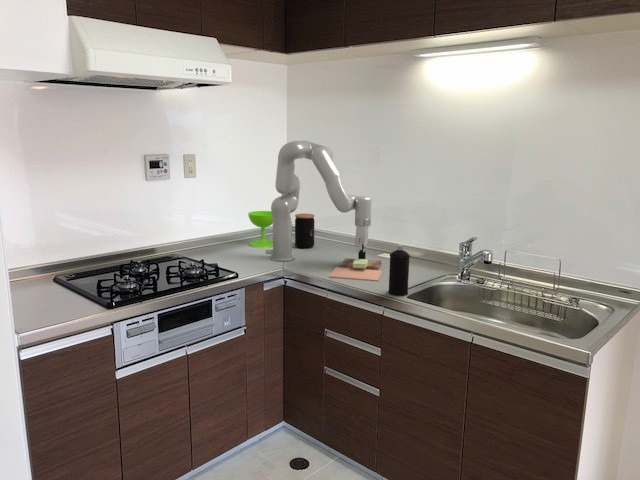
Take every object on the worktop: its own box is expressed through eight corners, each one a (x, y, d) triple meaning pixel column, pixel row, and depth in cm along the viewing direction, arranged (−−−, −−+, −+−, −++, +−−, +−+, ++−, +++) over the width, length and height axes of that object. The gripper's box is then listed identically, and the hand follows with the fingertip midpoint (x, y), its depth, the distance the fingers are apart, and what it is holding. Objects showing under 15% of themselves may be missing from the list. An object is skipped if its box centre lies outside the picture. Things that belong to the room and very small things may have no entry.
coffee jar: (313, 249, 284) (314, 216, 281) (294, 249, 285) (294, 216, 281) (314, 244, 295) (314, 213, 291) (295, 244, 295) (295, 213, 291)
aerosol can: (403, 297, 206) (405, 248, 202) (384, 293, 211) (386, 245, 206) (411, 292, 213) (413, 244, 209) (393, 288, 218) (395, 241, 213)
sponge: (352, 267, 242) (352, 263, 241) (355, 262, 250) (355, 258, 250) (365, 268, 240) (365, 264, 240) (368, 263, 249) (368, 259, 248)
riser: (340, 268, 247) (340, 264, 247) (345, 262, 259) (345, 258, 258) (378, 271, 243) (378, 267, 243) (381, 264, 255) (381, 260, 254)
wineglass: (282, 243, 299) (281, 212, 295) (269, 249, 284) (269, 216, 280) (257, 240, 304) (256, 210, 300) (243, 246, 290) (243, 214, 286)
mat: (328, 277, 233) (329, 276, 232) (336, 268, 248) (336, 267, 248) (378, 281, 228) (378, 280, 227) (382, 271, 243) (382, 270, 243)
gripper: (357, 219, 255) (356, 255, 259) (352, 224, 240) (351, 263, 244) (372, 220, 253) (371, 256, 257) (368, 225, 239) (367, 264, 243)
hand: (361, 259), depth 251 cm, fingers closed
